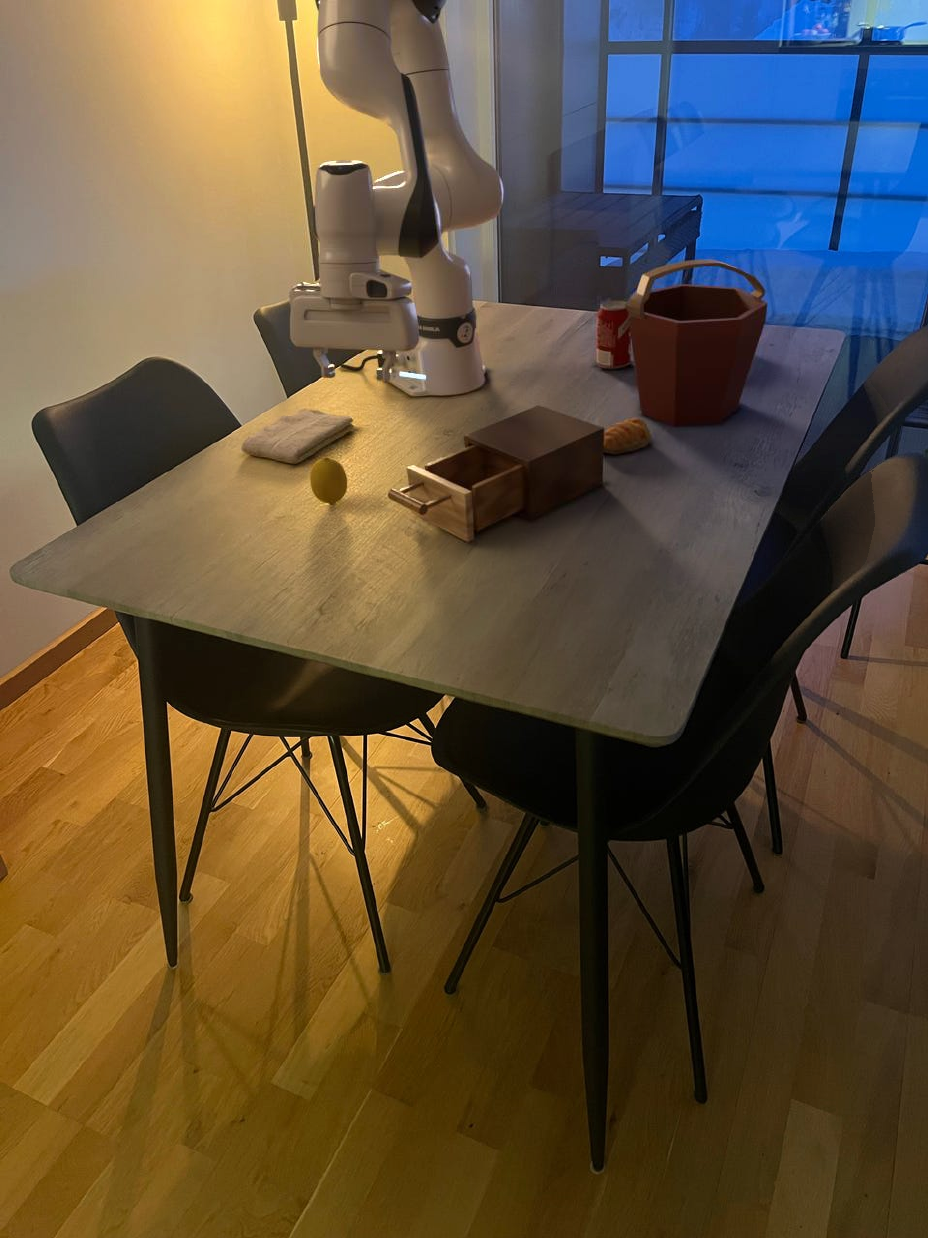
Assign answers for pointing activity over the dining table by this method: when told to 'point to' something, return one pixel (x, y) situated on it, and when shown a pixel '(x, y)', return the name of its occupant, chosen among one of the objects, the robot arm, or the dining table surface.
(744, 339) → the bucket
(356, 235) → the robot arm
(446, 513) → the drawer
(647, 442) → the pastry
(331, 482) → the lemon
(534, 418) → the cabinet
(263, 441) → the washcloth
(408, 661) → the dining table surface
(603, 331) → the soda can
